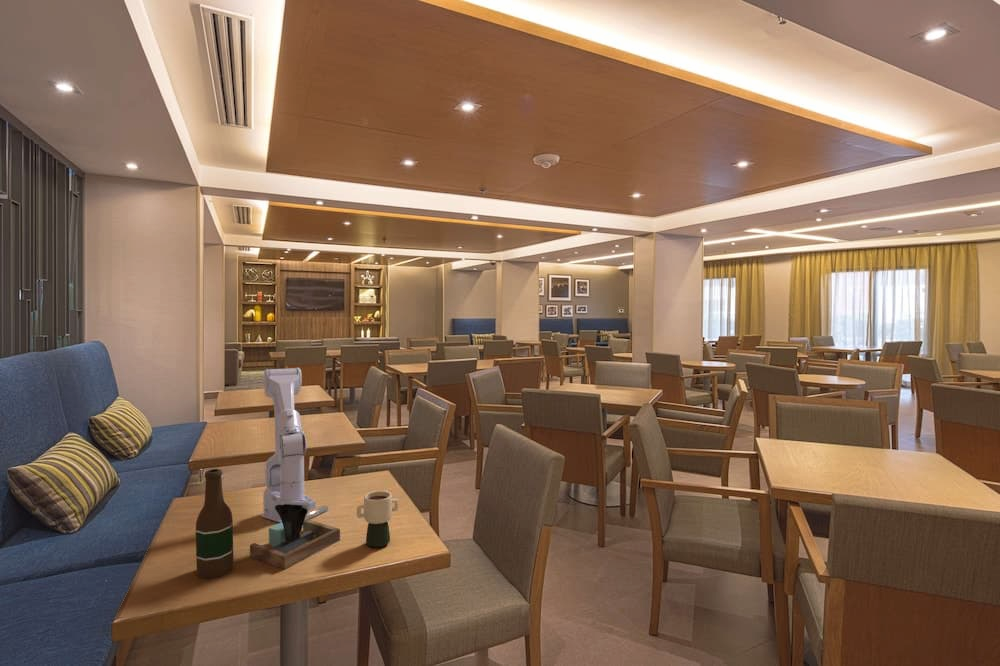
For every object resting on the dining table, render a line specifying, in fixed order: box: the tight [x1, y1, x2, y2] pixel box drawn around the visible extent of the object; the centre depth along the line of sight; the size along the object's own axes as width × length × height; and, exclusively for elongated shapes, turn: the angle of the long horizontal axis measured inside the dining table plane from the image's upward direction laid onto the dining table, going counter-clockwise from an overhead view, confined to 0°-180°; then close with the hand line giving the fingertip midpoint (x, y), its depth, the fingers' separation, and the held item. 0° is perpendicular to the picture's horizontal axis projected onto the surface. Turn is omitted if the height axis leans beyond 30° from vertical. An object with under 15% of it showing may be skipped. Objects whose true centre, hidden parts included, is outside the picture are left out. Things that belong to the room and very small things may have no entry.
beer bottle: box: [195, 468, 234, 580], centre depth 119 cm, size 8×8×24 cm
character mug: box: [356, 490, 399, 548], centre depth 134 cm, size 11×7×13 cm, turn 119°
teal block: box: [268, 522, 285, 547], centre depth 134 cm, size 4×4×4 cm
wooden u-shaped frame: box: [249, 519, 341, 570], centre depth 132 cm, size 13×17×3 cm
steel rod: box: [304, 504, 329, 520], centre depth 150 cm, size 12×2×2 cm
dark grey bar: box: [269, 519, 315, 554], centre depth 132 cm, size 2×12×7 cm, turn 152°
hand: (293, 531), depth 132 cm, fingers closed on dark grey bar, 2 cm apart
